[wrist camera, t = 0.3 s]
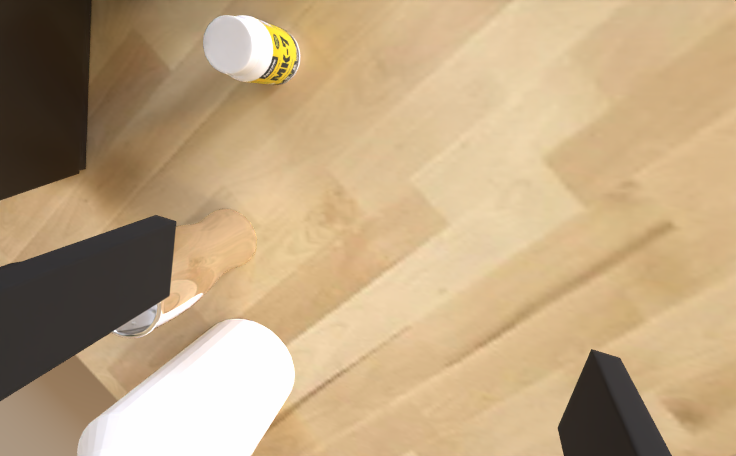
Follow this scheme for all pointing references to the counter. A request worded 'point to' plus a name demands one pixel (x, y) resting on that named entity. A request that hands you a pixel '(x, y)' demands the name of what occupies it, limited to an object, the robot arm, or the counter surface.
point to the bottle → (200, 399)
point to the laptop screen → (39, 92)
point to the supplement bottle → (251, 50)
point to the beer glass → (198, 266)
